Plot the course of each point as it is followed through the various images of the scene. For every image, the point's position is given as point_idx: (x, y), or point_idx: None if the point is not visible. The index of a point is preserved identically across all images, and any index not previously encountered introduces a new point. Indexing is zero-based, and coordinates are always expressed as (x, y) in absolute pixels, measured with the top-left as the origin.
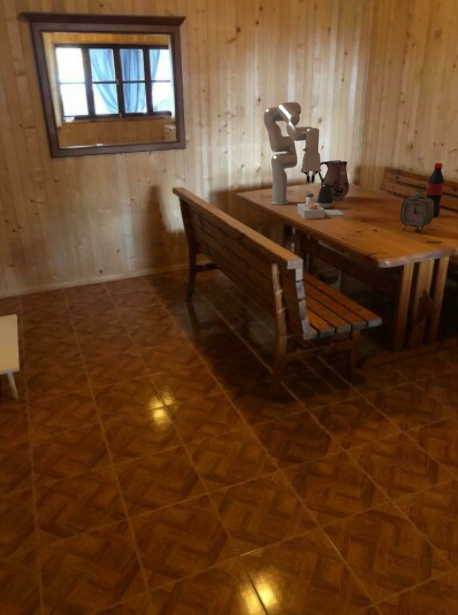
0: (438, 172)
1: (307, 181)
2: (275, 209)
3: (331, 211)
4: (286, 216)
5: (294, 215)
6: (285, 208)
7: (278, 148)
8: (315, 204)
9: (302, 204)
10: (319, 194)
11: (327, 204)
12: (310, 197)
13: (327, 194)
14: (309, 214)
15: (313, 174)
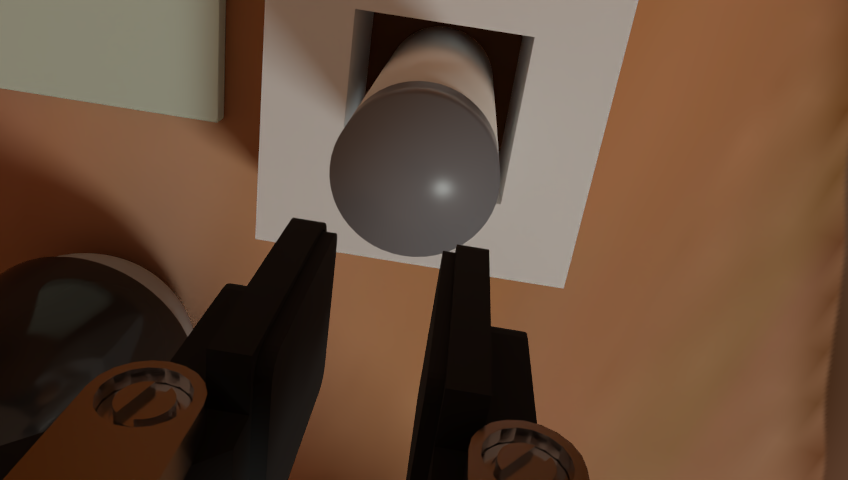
0: None
1: (502, 333)
2: (748, 437)
3: (104, 12)
4: (834, 44)
5: (691, 58)
6: (609, 435)
7: None
8: (310, 144)
9: (512, 220)
10: None
11: (87, 258)
12: (437, 83)
13: (5, 346)
14: None
15: (191, 445)
